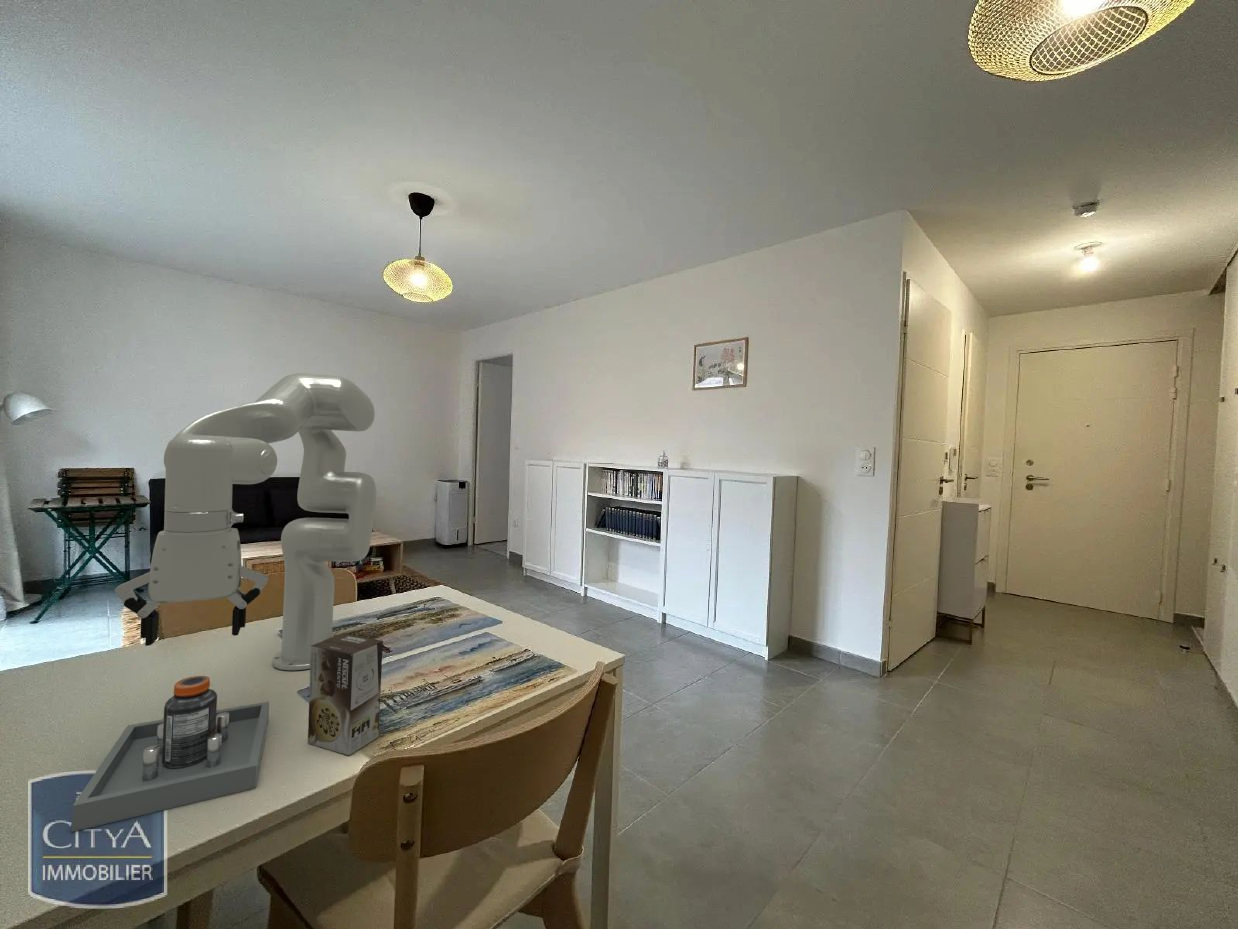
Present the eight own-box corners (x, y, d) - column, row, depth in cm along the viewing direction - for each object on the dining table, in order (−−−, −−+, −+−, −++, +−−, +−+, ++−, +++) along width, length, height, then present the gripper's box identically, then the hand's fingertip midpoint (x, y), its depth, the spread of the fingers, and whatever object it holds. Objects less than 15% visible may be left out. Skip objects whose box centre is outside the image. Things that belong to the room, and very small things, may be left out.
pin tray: (268, 719, 86) (269, 690, 86) (255, 788, 69) (257, 751, 69) (127, 745, 77) (128, 712, 77) (71, 832, 60) (73, 789, 60)
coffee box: (380, 736, 83) (385, 640, 83) (348, 757, 77) (353, 654, 77) (339, 724, 86) (343, 631, 86) (304, 743, 80) (309, 643, 80)
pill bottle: (183, 745, 76) (187, 671, 76) (224, 745, 77) (228, 672, 77) (149, 769, 70) (154, 689, 70) (194, 769, 71) (198, 690, 71)
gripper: (272, 516, 81) (269, 621, 81) (126, 519, 72) (123, 636, 72) (268, 524, 74) (264, 637, 75) (107, 528, 65) (104, 657, 66)
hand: (195, 637), depth 73 cm, fingers open, 9 cm apart
